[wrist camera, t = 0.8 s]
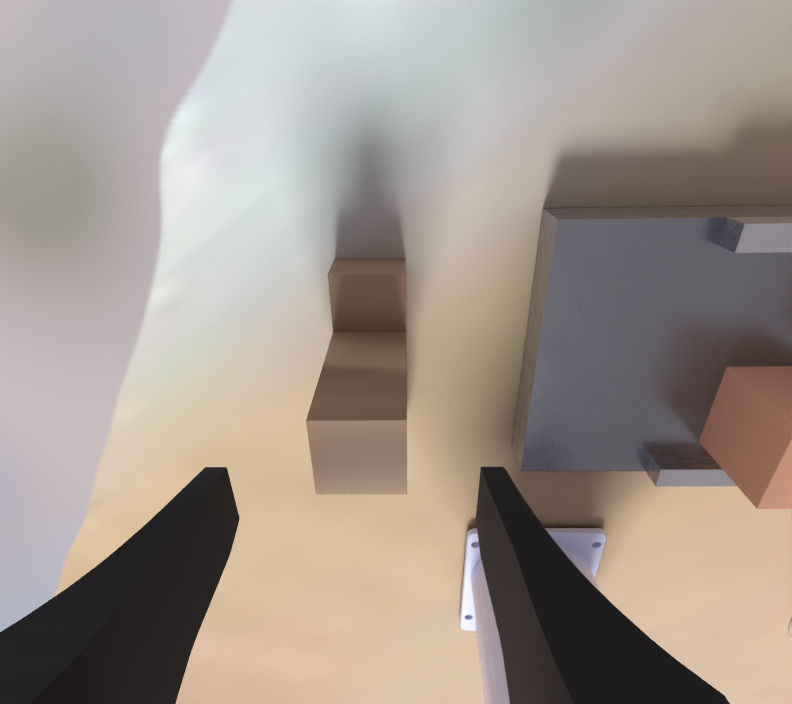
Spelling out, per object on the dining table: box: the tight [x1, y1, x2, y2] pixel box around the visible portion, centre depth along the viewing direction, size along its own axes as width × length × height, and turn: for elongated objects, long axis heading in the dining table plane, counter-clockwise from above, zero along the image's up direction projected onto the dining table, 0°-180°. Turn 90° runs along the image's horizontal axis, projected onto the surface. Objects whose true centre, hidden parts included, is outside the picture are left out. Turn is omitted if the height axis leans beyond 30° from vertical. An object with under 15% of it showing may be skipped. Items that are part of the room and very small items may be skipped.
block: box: [699, 366, 792, 509], centre depth 19 cm, size 4×4×4 cm
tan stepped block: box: [306, 258, 407, 494], centre depth 18 cm, size 8×3×8 cm, turn 1°
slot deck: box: [512, 205, 792, 486], centre depth 20 cm, size 12×20×3 cm, turn 91°
